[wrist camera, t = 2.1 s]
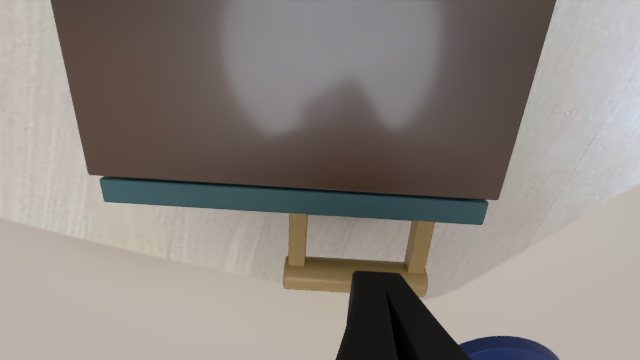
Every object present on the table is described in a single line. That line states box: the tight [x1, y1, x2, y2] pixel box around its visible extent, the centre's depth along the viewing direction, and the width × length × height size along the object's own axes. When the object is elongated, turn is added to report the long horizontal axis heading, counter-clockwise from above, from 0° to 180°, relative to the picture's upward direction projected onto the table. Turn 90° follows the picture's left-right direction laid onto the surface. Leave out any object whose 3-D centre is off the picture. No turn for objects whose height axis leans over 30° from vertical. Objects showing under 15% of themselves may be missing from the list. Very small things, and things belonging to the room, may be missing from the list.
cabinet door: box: [100, 176, 488, 297], centre depth 15 cm, size 6×12×8 cm, turn 87°
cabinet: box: [51, 0, 556, 200], centre depth 12 cm, size 10×12×9 cm
